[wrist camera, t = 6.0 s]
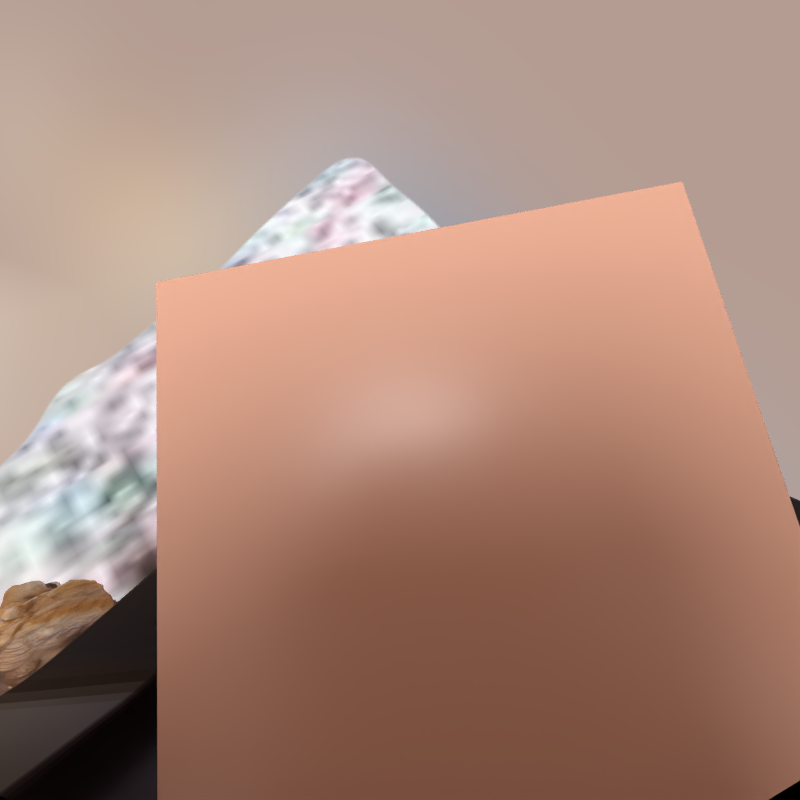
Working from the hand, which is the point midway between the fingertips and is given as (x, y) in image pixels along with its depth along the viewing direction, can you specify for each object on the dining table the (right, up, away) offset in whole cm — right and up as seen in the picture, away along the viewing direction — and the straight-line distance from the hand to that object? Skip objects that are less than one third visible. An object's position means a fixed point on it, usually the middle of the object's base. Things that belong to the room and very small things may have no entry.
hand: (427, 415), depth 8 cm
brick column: (+1, -2, +6) cm, 7 cm away
